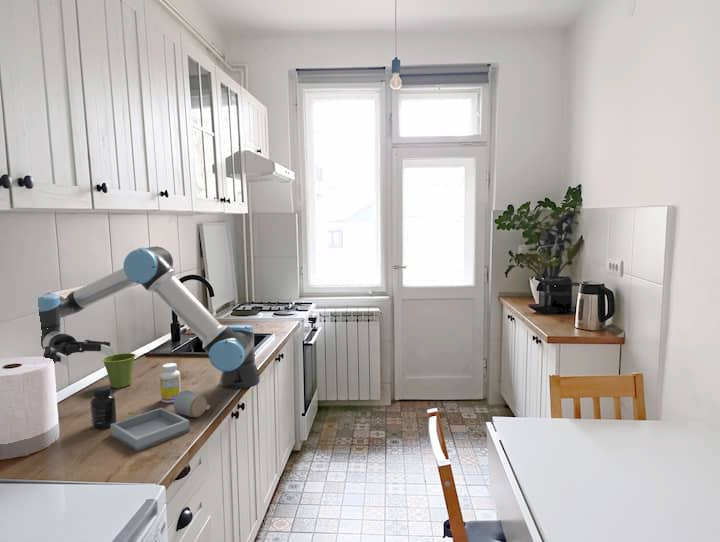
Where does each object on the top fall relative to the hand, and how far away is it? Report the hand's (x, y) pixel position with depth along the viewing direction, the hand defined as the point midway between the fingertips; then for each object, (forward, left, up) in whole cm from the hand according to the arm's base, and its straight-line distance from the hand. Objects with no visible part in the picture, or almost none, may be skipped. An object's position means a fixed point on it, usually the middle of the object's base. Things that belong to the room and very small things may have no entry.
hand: (90, 356), depth 149 cm
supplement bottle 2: (-24, +5, -21) cm, 32 cm away
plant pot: (-20, -26, -21) cm, 39 cm away
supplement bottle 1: (0, +7, -21) cm, 22 cm away
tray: (-6, +25, -21) cm, 33 cm away
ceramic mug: (-22, +21, -21) cm, 37 cm away
